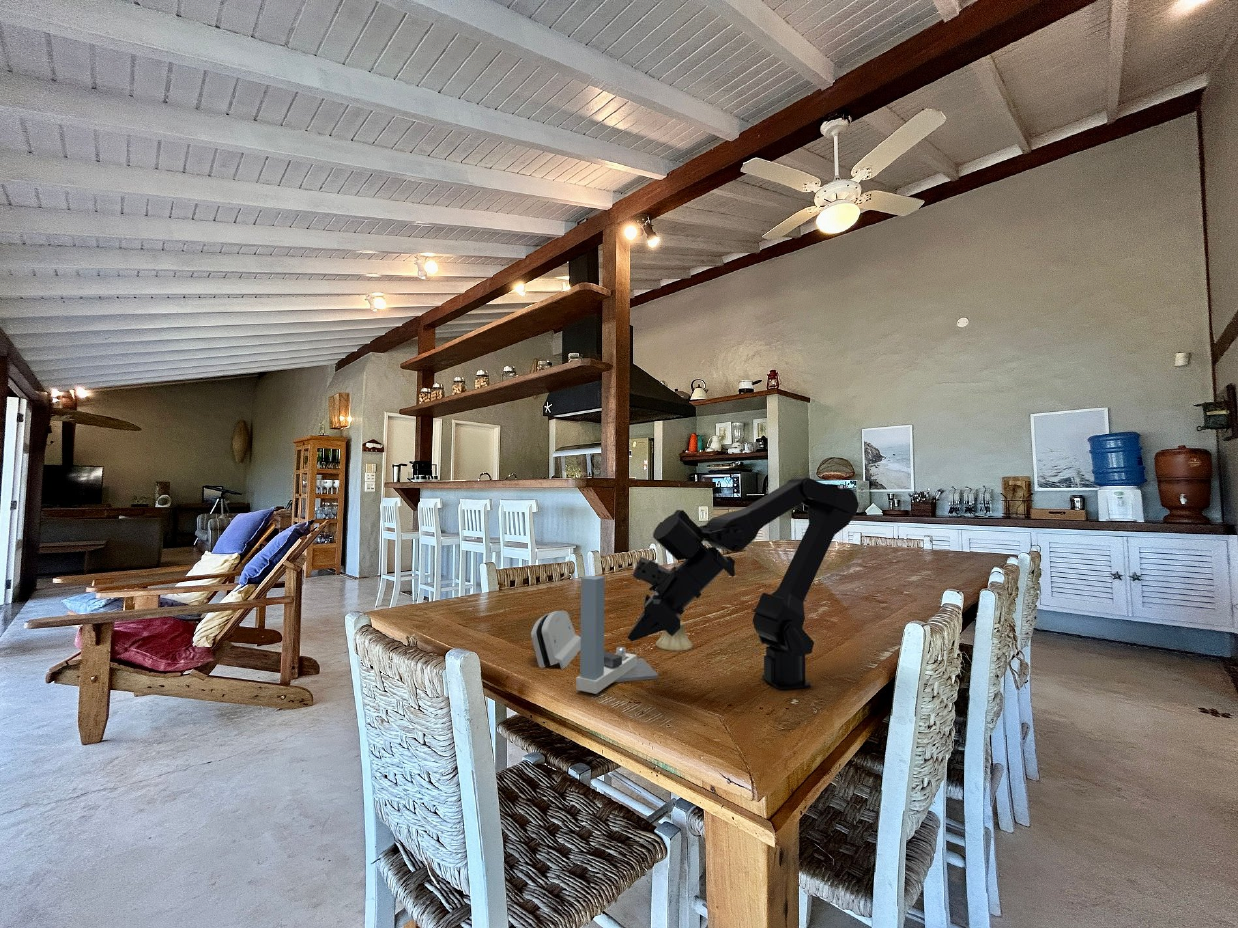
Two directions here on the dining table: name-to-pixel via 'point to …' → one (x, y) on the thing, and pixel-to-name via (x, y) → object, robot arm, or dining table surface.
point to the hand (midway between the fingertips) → (629, 638)
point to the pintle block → (636, 673)
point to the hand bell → (674, 640)
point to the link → (596, 640)
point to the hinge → (555, 639)
